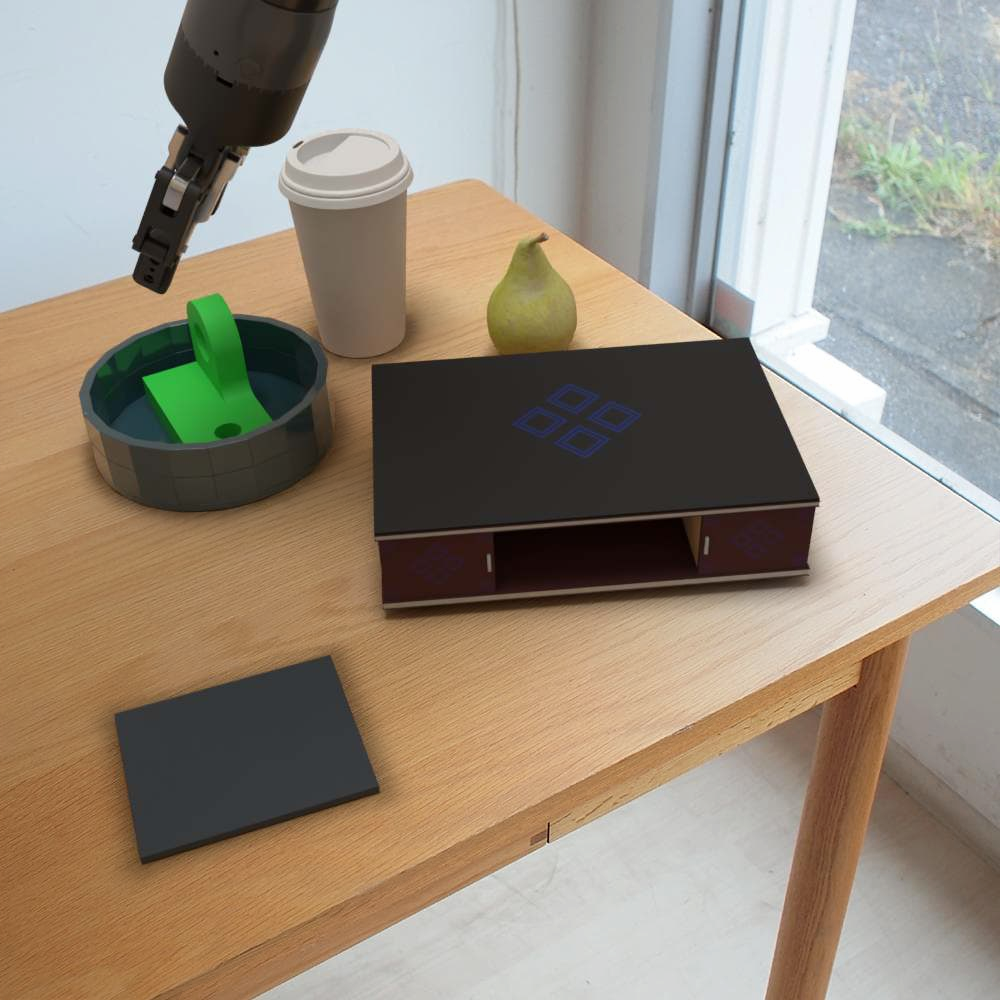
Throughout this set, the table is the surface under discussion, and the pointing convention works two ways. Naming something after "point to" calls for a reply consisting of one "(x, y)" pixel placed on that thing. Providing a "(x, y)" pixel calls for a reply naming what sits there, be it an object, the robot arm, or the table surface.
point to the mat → (241, 757)
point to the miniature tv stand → (584, 474)
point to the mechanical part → (207, 381)
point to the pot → (222, 463)
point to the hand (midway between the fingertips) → (175, 245)
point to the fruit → (531, 304)
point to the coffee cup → (352, 235)
